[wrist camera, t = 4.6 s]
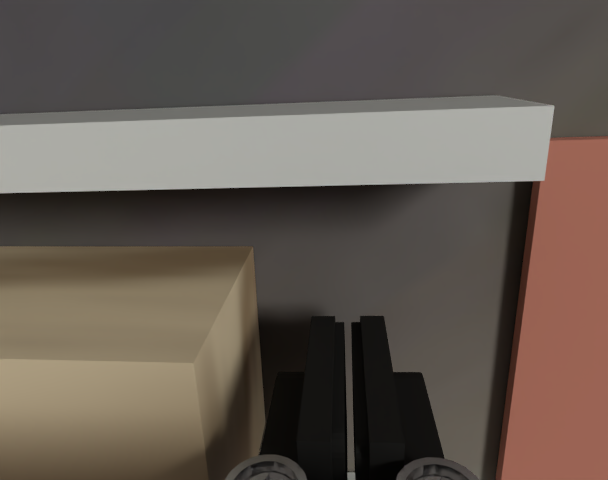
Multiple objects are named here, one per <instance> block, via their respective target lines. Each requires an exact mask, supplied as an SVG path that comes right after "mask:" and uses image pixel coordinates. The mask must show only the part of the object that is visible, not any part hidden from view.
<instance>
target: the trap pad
mask: <svg viewBox="0 0 608 480" xmlns="http://www.w3.org/2000/svg"><path fill="white" fill-rule="evenodd" d="M496 480H608V136H595V137H563V138H550V143H549V150H548V158H547V165H546V173H545V180H544V181H533V186H532V194H531V202H530V210H529V218H528V226H527V234H526V241H525V249H524V257H523V265H522V273H521V281H520V289H519V297H518V305H517V313H516V321H515V329H514V337H513V345H512V353H511V361H510V368H509V376H508V384H507V392H506V400H505V408H504V416H503V424H502V432H501V440H500V448H499V456H498V464H497V472H496Z"/></svg>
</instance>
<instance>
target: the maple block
mask: <svg viewBox="0 0 608 480" xmlns="http://www.w3.org/2000/svg"><path fill="white" fill-rule="evenodd" d="M265 423H266V422H265V408H264V394H263V380H262V366H261V352H260V338H259V324H258V310H257V296H256V282H255V268H254V254H253V246H0V480H225V479H226V477H227V476H228V474H229V473H230V471H231V470H232V469H234V468H235V467H236V466H237V465H238V464H240V463H241V462H243V461H245V460H247V459H249V458H251V457H255V456H258V454H259V450H260V445H261V441H262V436H263V432H264V427H265Z"/></svg>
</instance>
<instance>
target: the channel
mask: <svg viewBox="0 0 608 480" xmlns="http://www.w3.org/2000/svg"><path fill="white" fill-rule="evenodd" d="M553 113H554V105H548V104H543V103H537V102H531V101H526V100H520V99H514V98H509V97H503V96H498V95H489V96H463V97H437V98H411V99H385V100H359V101H333V102H307V103H281V104H255V105H229V106H203V107H177V108H151V109H125V110H99V111H73V112H47V113H21V114H0V193H34V192H77V191H121V190H164V189H208V188H252V187H295V186H339V185H383V184H426V183H470V182H513V181H544V180H545V173H546V165H547V158H548V150H549V143H550V135H551V128H552V120H553ZM347 478H348V480H355V472H347Z"/></svg>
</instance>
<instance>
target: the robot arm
mask: <svg viewBox="0 0 608 480" xmlns="http://www.w3.org/2000/svg"><path fill="white" fill-rule="evenodd" d="M351 327H352V374H353V421H354V455H355V480H479V479H478V477H477V476H476V475H474V474H473V473H472V472H471V471H470V470H468V469H467V468H466V467H464V466H462V465H460V464H458V463H456V462H454V461H451V460H447V459H444V455H443V451H442V447H441V443H440V439H439V436H438V432H437V428H436V424H435V420H434V417H433V413H432V409H431V405H430V401H429V397H428V394H427V390H426V386H425V382H424V378H423V375H422V373H421V372H393V369H392V363H391V357H390V351H389V345H388V339H387V333H386V327H385V321H384V316H360V322H351ZM225 480H348V478H347V410H346V374H345V337H344V322H335V316H319V317H312V320H311V328H310V336H309V344H308V352H307V360H306V368H305V372H279V373H278V374H277V378H276V382H275V387H274V392H273V396H272V401H271V406H270V410H269V415H268V420H267V424H266V429H265V434H264V438H263V443H262V448H261V452H260V456H255V457H251V458H249V459H247V460H245V461H243V462H241V463H240V464H238V465H237V466H236V467H235V468H234V469H232V470H231V471H230V473H229V474H228V476H227V477H226V479H225Z"/></svg>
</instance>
